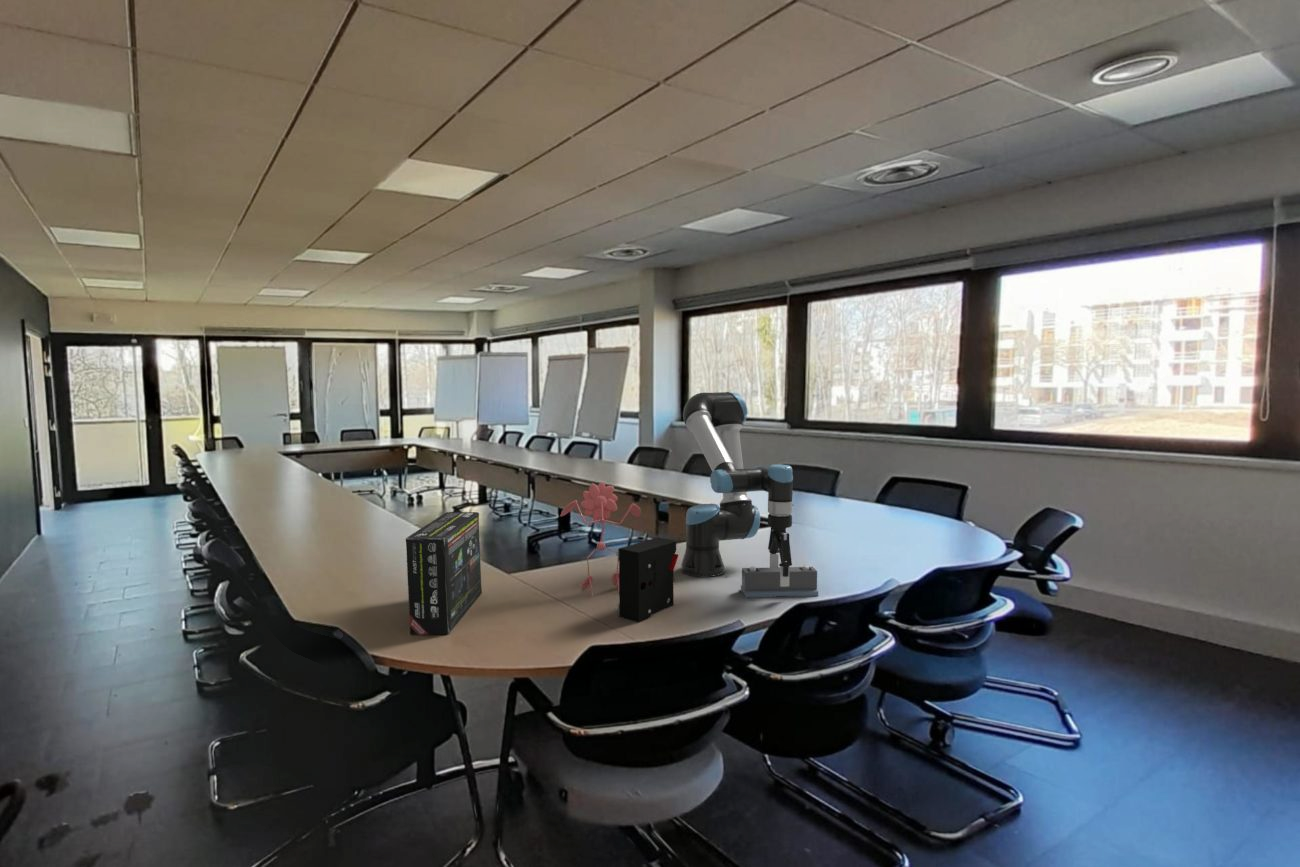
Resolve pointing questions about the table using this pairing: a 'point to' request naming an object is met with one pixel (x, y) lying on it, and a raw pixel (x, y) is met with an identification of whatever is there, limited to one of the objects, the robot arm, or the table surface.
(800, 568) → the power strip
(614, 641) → the table surface
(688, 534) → the robot arm
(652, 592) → the electrical component
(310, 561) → the table surface
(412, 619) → the router box
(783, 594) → the mounting plate
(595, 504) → the pink flower figurine
